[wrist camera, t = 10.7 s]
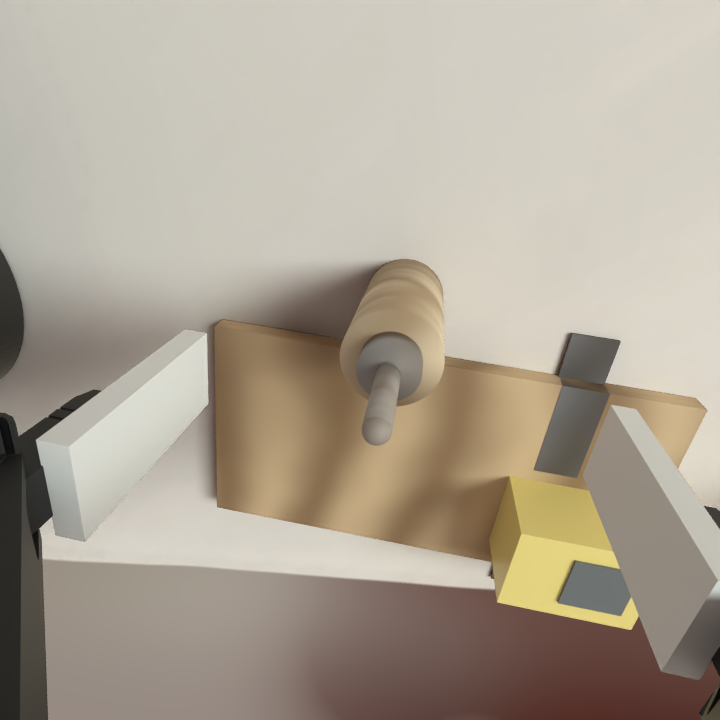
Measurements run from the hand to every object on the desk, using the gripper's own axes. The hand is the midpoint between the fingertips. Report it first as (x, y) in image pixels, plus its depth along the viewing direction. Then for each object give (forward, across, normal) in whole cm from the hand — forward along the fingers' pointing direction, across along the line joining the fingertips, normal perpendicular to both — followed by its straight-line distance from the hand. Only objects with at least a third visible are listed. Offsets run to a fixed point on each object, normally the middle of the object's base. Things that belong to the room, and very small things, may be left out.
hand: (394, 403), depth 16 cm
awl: (+11, 0, 0) cm, 11 cm away
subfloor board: (+11, +2, -9) cm, 15 cm away
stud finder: (+10, +11, -12) cm, 19 cm away
